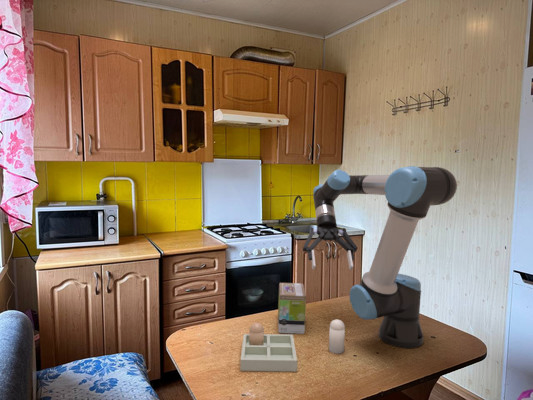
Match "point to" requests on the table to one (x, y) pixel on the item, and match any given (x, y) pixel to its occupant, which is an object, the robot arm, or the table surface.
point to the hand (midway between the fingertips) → (332, 268)
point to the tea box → (291, 308)
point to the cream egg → (336, 336)
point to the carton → (267, 351)
